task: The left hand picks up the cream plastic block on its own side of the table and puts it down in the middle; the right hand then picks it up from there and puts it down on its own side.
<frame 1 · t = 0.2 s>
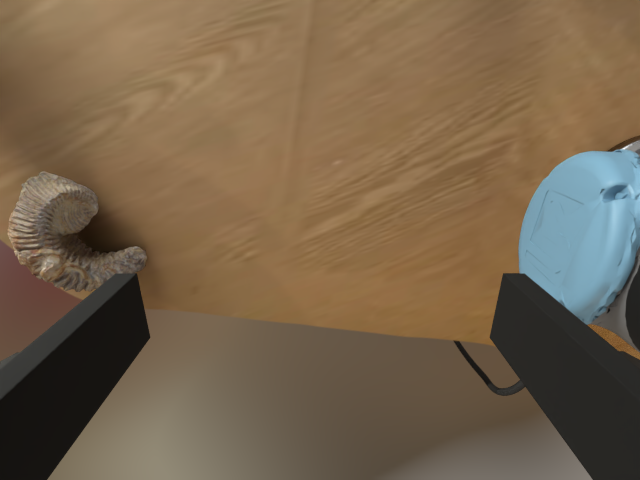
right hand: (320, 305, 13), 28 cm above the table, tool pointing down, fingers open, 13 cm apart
seashell: (94, 222, 41), on the table
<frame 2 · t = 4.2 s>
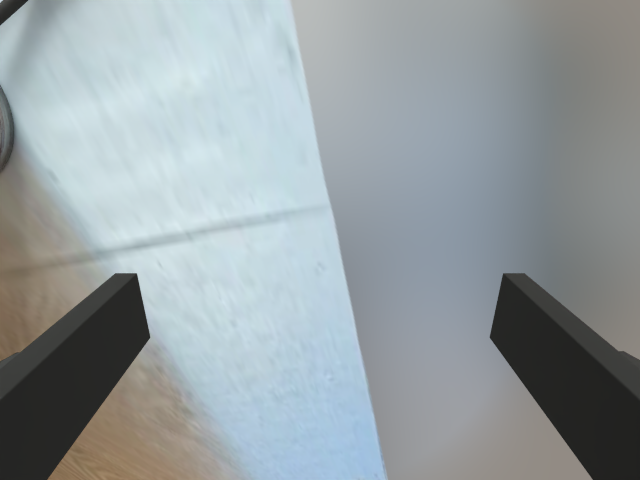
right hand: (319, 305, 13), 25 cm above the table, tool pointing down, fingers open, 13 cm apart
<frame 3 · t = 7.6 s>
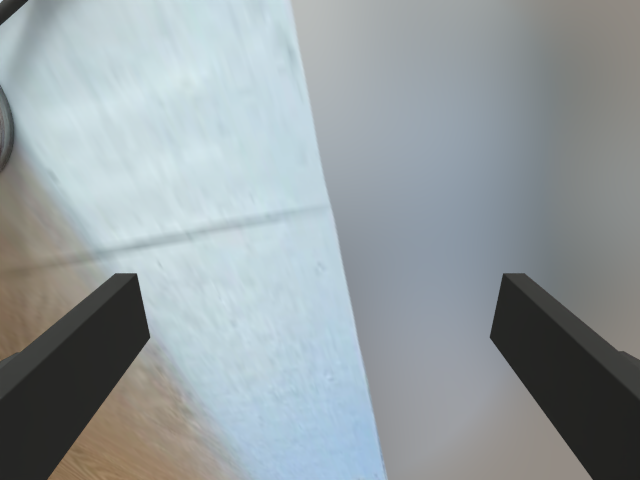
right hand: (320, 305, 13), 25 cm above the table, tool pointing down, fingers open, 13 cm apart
when the left hand's fingers open (2 cm above the table, at t = 11.1 s): block drops 1 cm, on the table.
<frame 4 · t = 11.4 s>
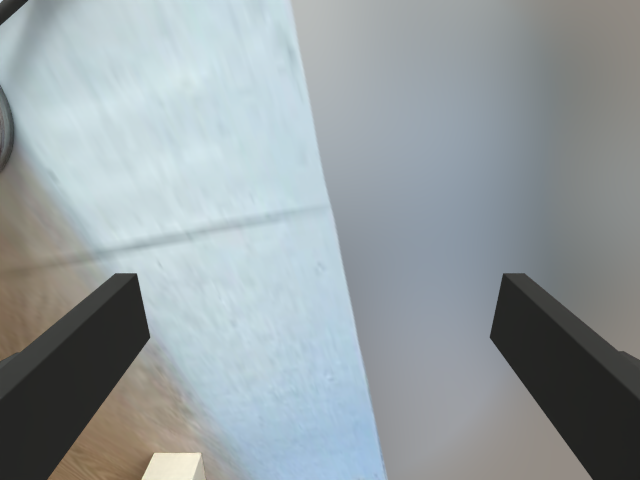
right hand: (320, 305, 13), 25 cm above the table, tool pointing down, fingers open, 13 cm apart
block: (182, 473, 52), on the table
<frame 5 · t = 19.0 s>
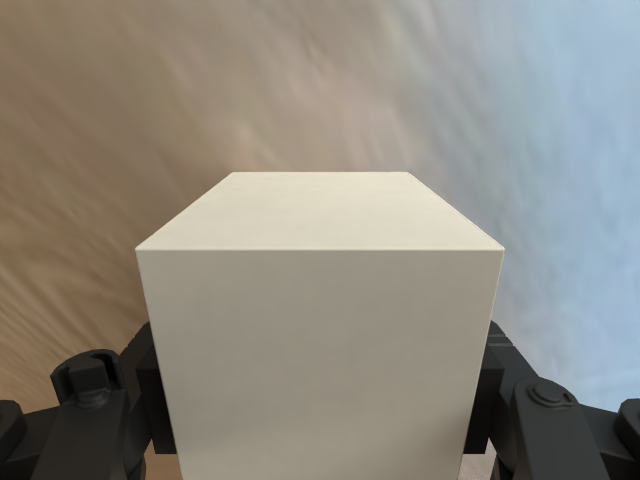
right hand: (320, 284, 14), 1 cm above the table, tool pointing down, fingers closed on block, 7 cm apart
block: (320, 274, 15), on the table, touching right hand
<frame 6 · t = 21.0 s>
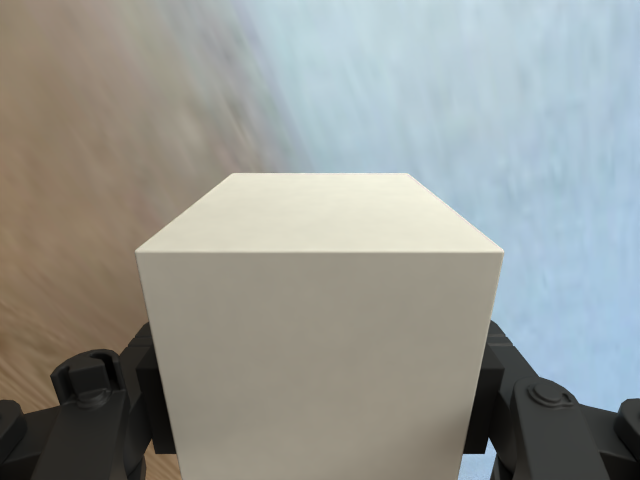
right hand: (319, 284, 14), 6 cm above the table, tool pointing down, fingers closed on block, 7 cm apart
block: (320, 275, 15), point 6 cm above the table, touching right hand
when the right hand's fingers open (2 cm above the table, at t = 23.4 s): block drops 1 cm, on the table.
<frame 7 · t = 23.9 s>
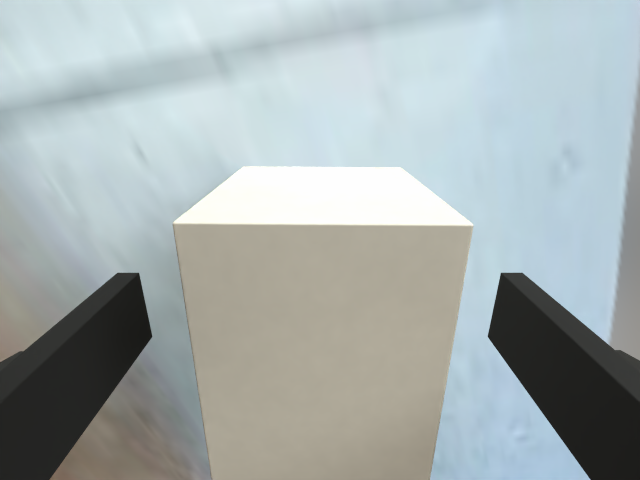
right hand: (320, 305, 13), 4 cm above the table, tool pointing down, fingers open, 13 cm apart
block: (321, 260, 17), on the table
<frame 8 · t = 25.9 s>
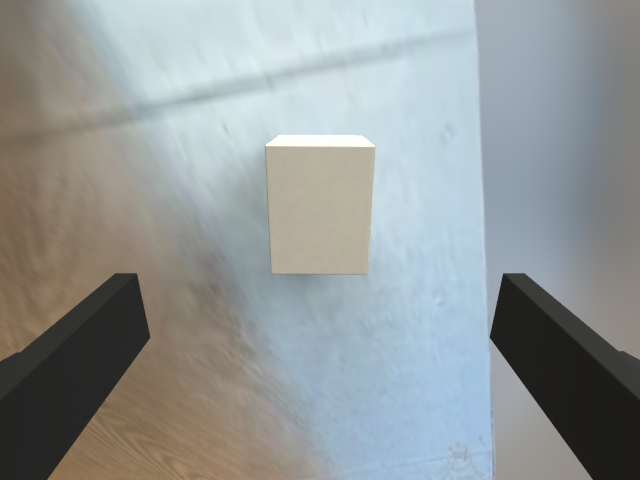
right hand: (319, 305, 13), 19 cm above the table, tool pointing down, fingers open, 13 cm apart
block: (319, 188, 30), on the table
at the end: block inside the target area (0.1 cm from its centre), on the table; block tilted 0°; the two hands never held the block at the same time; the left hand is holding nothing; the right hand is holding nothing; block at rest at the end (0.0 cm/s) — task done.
